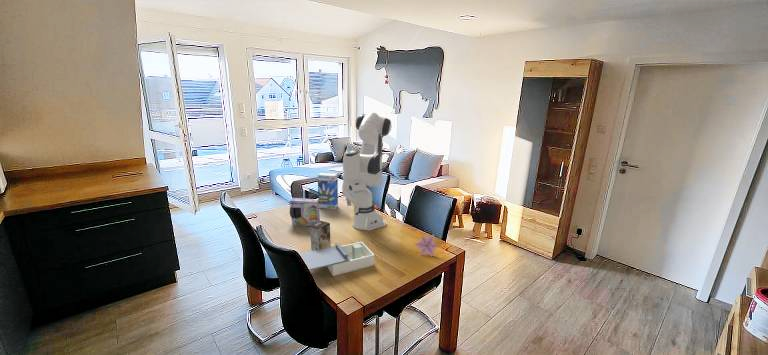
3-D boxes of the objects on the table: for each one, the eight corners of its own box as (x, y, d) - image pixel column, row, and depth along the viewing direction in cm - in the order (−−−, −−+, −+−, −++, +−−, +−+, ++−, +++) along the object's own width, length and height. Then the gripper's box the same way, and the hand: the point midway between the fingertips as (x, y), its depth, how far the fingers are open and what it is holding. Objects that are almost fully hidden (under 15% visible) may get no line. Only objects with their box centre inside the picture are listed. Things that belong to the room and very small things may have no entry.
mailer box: (361, 251, 173) (361, 241, 172) (374, 265, 160) (374, 254, 158) (323, 260, 164) (322, 250, 162) (333, 276, 150) (332, 265, 148)
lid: (338, 246, 166) (338, 241, 165) (349, 260, 152) (349, 255, 151) (296, 255, 156) (296, 250, 155) (304, 271, 142) (304, 266, 141)
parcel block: (359, 257, 166) (359, 243, 164) (362, 260, 163) (362, 246, 161) (352, 258, 165) (352, 244, 162) (355, 262, 161) (355, 248, 159)
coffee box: (322, 246, 178) (321, 220, 174) (331, 249, 175) (330, 222, 171) (310, 252, 171) (309, 225, 166) (319, 256, 168) (318, 228, 163)
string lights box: (318, 208, 234) (317, 174, 227) (321, 204, 242) (320, 172, 235) (335, 209, 232) (334, 175, 225) (338, 205, 240) (337, 173, 233)
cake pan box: (290, 224, 205) (288, 199, 200) (293, 221, 210) (291, 196, 205) (317, 227, 202) (316, 201, 197) (320, 224, 206) (319, 199, 202)
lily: (411, 252, 176) (413, 243, 169) (422, 238, 182) (424, 228, 176) (429, 264, 171) (432, 255, 164) (440, 249, 178) (443, 240, 171)
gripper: (338, 178, 163) (339, 202, 167) (354, 189, 146) (354, 217, 150) (350, 176, 166) (350, 201, 170) (366, 187, 149) (366, 214, 153)
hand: (352, 208), depth 160 cm, fingers open, 8 cm apart
